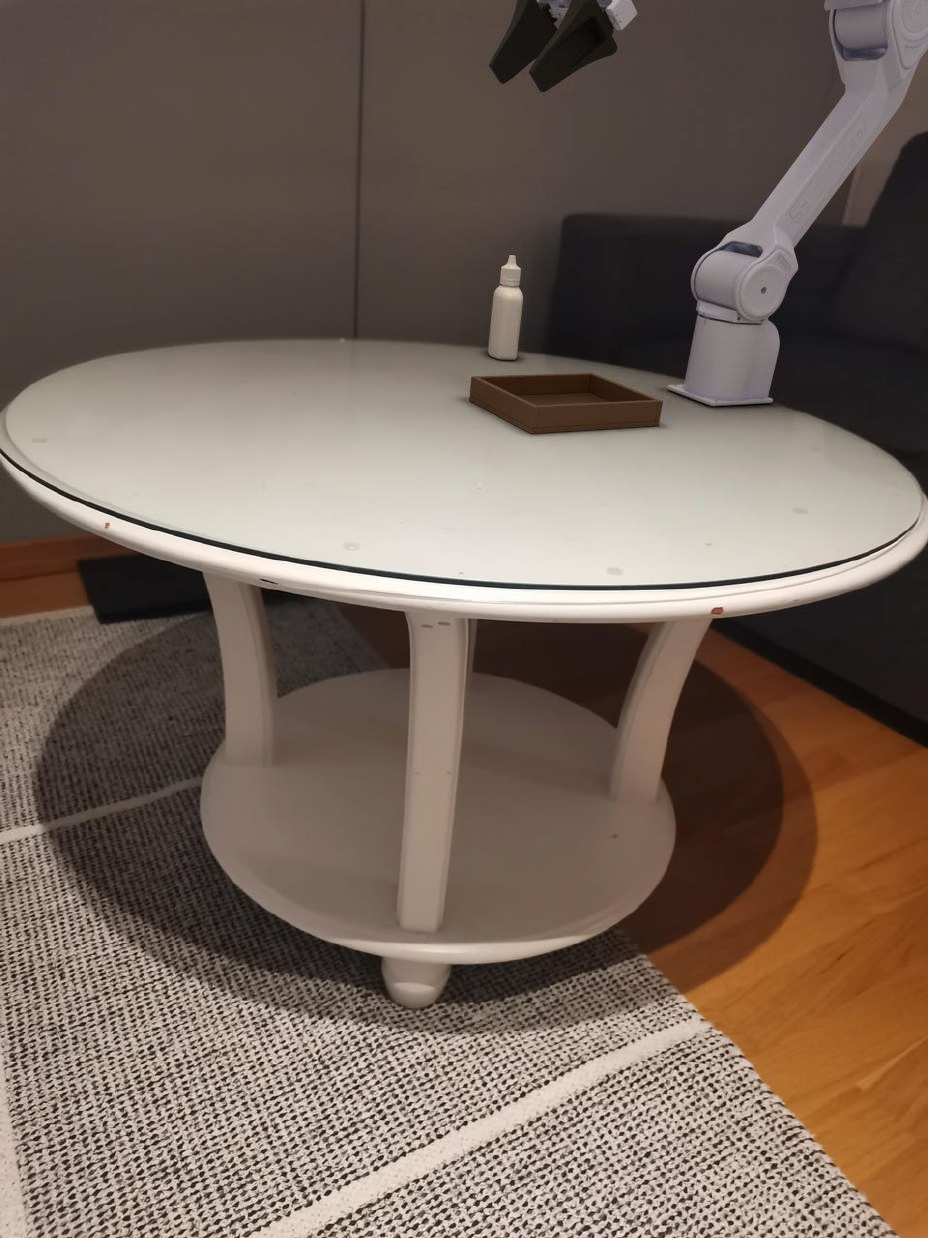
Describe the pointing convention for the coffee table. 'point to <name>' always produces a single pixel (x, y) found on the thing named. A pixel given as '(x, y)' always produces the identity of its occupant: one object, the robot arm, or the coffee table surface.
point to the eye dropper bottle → (506, 313)
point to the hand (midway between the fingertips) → (515, 78)
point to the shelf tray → (564, 402)
